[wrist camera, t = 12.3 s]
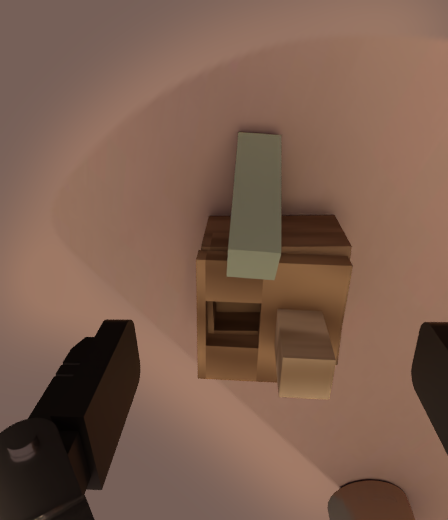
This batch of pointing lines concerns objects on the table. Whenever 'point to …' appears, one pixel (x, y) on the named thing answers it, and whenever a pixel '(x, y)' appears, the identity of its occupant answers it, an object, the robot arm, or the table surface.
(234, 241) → the green square block
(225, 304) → the box
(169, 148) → the table surface
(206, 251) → the lid
